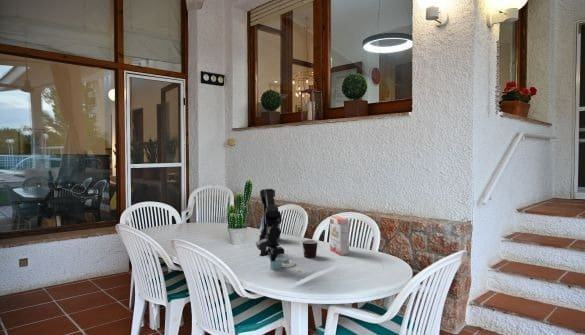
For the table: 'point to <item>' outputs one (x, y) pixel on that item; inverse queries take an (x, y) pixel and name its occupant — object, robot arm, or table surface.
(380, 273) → the table surface
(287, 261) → the dial
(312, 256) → the coffee mug
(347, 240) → the cracker box
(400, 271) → the table surface
